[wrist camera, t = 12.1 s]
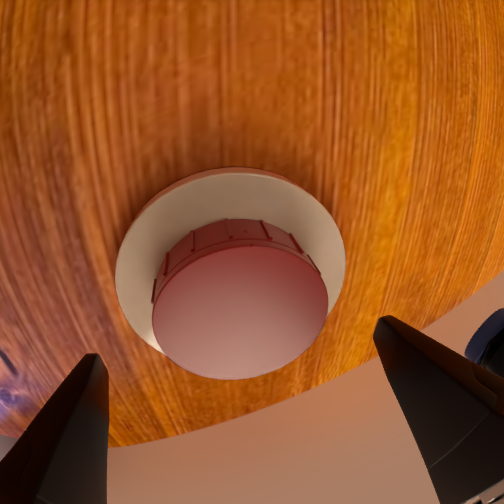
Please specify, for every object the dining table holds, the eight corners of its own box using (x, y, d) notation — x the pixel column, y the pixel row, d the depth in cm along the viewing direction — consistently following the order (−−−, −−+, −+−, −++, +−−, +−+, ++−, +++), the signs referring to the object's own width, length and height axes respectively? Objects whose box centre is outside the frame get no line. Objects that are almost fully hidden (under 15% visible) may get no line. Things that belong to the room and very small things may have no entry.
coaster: (345, 318, 14) (352, 329, 14) (175, 373, 14) (176, 385, 13) (319, 136, 10) (329, 139, 9) (78, 220, 10) (71, 230, 9)
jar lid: (195, 188, 9) (196, 210, 7) (339, 255, 11) (362, 283, 10) (135, 322, 11) (130, 358, 10) (262, 357, 13) (271, 390, 12)
